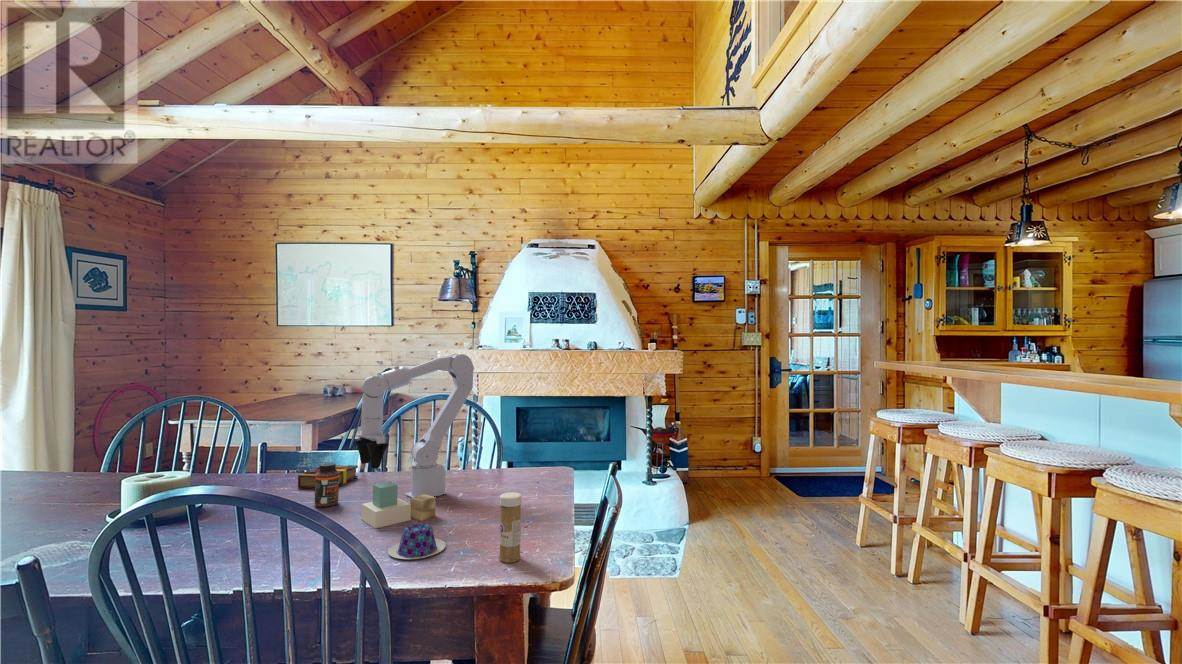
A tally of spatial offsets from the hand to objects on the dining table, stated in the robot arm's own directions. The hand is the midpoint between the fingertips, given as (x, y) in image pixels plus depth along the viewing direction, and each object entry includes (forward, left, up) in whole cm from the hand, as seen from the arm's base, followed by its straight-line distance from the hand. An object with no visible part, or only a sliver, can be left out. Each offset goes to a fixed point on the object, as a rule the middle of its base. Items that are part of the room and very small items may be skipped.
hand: (370, 465), depth 146 cm
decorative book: (+1, -30, -11) cm, 32 cm away
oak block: (-5, +22, -11) cm, 25 cm away
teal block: (+3, +18, -6) cm, 19 cm away
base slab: (+3, +18, -10) cm, 21 cm away
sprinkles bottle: (-6, +60, -11) cm, 61 cm away
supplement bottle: (+10, -6, -11) cm, 16 cm away
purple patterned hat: (+6, +42, -11) cm, 44 cm away
